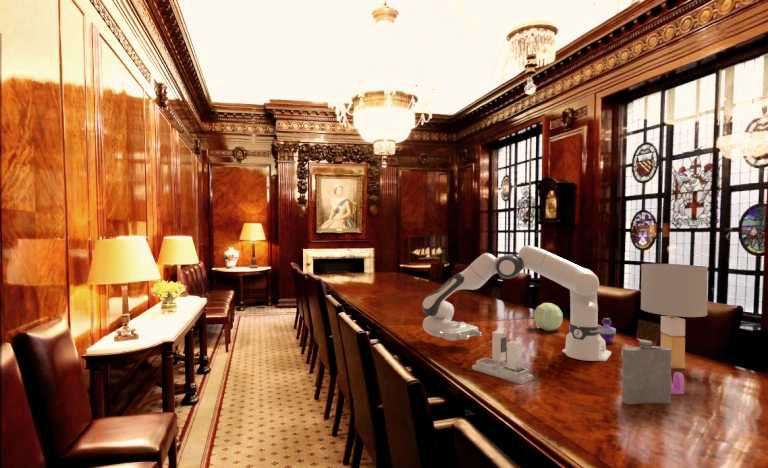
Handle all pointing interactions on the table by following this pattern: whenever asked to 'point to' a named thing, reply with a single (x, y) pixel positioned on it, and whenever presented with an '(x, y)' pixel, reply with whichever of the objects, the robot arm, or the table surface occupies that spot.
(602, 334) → the potion bottle
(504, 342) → the loose rectangular block
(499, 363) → the pillar on stepped tray
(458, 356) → the table surface
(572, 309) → the robot arm
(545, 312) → the decorative sphere
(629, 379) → the hip flask
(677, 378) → the bracket
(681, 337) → the lamp
